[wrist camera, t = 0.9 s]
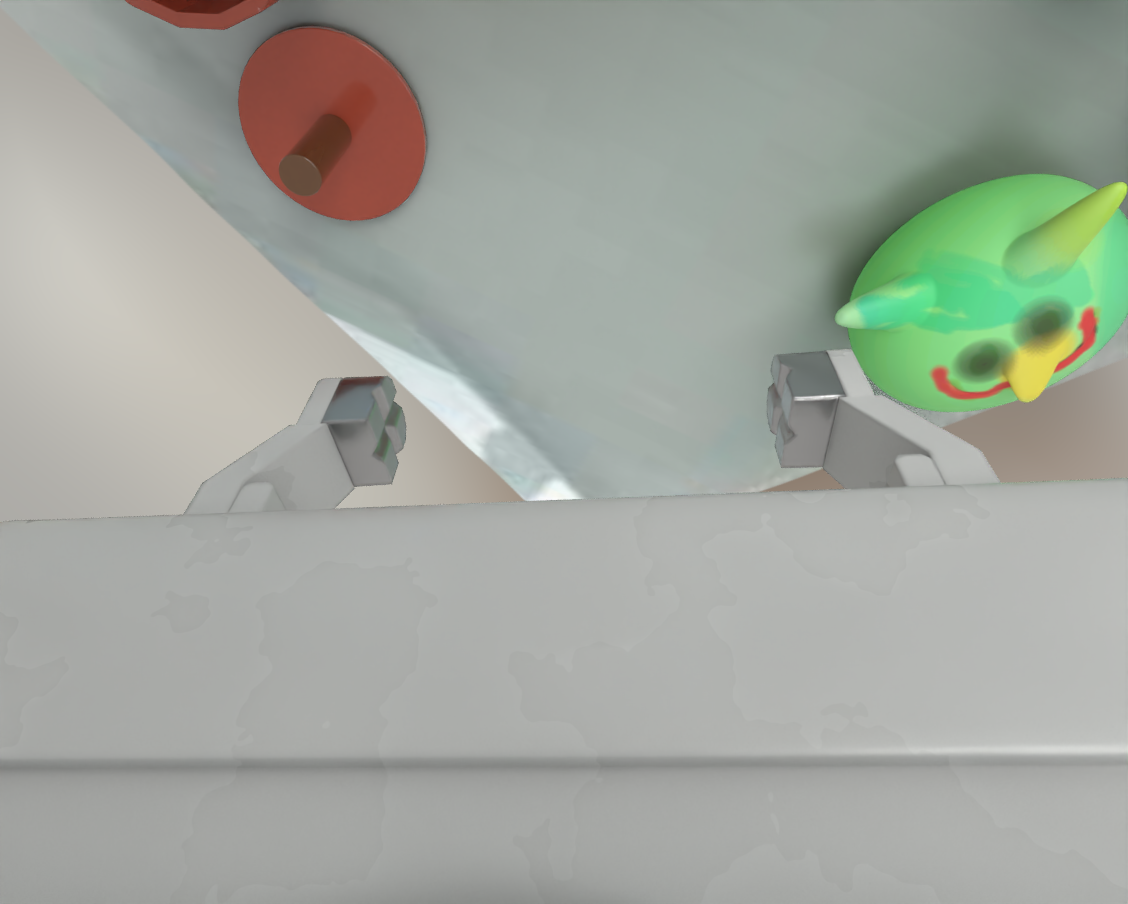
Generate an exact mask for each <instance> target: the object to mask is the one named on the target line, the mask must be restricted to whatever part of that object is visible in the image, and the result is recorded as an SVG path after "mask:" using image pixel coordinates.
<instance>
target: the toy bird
mask: <svg viewBox="0 0 1128 904" xmlns="http://www.w3.org/2000/svg"><path fill="white" fill-rule="evenodd" d="M1127 190H1128V187H1127V184H1126V183H1124V182H1116V183H1112V184H1109V185H1107V186H1105V187H1102V188H1100V189H1098V190H1097V189H1095V188H1093V187H1091V186H1090V185H1087V184H1085V183H1083V182H1080V181H1078V180H1075V179H1071V178H1068V177H1063V176H1058V175H1049V174H1025V175H1015V176H1009V177H1004V178H999V179H995V180H991V181H987V182H984V183H981V184H978V185H975V186H972V187H969V188H966V189H964V190H961V191H959V192H957V193H955V194H952V195H950V196H948V197H946V198H944V199H942V200H940V201H938V202H937V203H935V204H933V205H931V206H930V207H928V208H926V209H925V210H923V211H922V212H920V213H919V214H917V215H916V216H914V217H913V218H912V219H910V220H909V221H908V222H906V223H905V224H904V225H903V226H901V227H900V228H899V229H898V230H897V231H896V232H894V233H893V234H892V235H891V236H890V237H889V238H888V239H887V240H886V241H885V242H884V243H883V244H882V245H881V246H880V247H879V249H878V250H877V251H876V252H875V253H874V254H873V256H872V257H871V258H870V260H869V261H868V262H867V264H866V265H865V267H864V268H863V270H862V272H861V274H860V275H859V277H858V279H857V281H856V283H855V286H854V288H853V291H852V294H851V298H850V302H849V303H847V304H846V305H844V306H843V307H842V308H840V309H839V310H838V311H837V313H836V315H835V322H836V323H837V324H838V325H840V326H843V327H848V335H849V340H850V344H851V347H852V350H853V352H854V354H855V356H856V358H857V360H858V362H859V364H860V366H861V368H862V369H863V371H864V372H865V374H866V375H867V376H868V377H869V378H870V380H871V381H872V382H873V383H874V384H875V385H877V386H878V387H879V388H880V389H881V390H883V391H884V392H885V393H887V394H888V395H890V396H891V397H893V398H895V399H897V400H899V401H901V402H903V403H906V404H908V405H911V406H914V407H917V408H921V409H926V410H931V411H940V412H965V411H974V410H981V409H986V408H991V407H996V406H1000V405H1003V404H1006V403H1010V402H1013V401H1016V400H1020V401H1022V402H1031V401H1033V400H1035V399H1036V398H1037V397H1038V396H1039V395H1040V394H1041V393H1042V391H1043V390H1044V389H1045V388H1047V387H1049V386H1051V385H1053V384H1054V383H1056V382H1058V381H1060V380H1061V379H1063V378H1065V377H1066V376H1068V375H1069V374H1071V373H1072V372H1074V371H1075V370H1076V369H1078V368H1079V367H1081V366H1082V365H1083V364H1084V363H1086V362H1087V361H1088V360H1089V359H1091V358H1092V357H1093V356H1094V355H1095V354H1096V353H1097V352H1098V351H1099V350H1100V349H1101V348H1103V347H1104V345H1105V344H1106V343H1107V342H1108V341H1109V340H1110V339H1111V338H1112V337H1113V335H1114V334H1115V333H1116V332H1117V330H1118V329H1119V328H1120V326H1121V325H1122V323H1123V321H1124V320H1125V318H1126V316H1127V315H1128V220H1127V218H1126V216H1125V215H1124V214H1123V212H1122V211H1121V210H1120V209H1119V208H1118V207H1119V206H1120V204H1121V203H1122V201H1123V200H1124V198H1125V196H1126V193H1127Z"/></svg>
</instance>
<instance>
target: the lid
mask: <svg viewBox="0 0 1128 904" xmlns="http://www.w3.org/2000/svg"><path fill="white" fill-rule="evenodd" d="M238 106H239V116H240V121H241V125H242V130H243V133H244V136H245V138H246V141H247V143H248V146H249V148H250V150H251V152H252V154H253V156H254V157H255V159H256V161H257V162H258V164H259V165H260V167H261V168H262V170H263V171H264V172H265V174H266V175H267V176H268V177H269V178H270V179H271V181H272V182H273V183H274V184H275V185H276V186H277V187H278V188H279V189H281V190H282V191H283V192H284V193H285V194H286V195H288V196H289V197H290V198H292V199H293V200H294V201H296V202H297V203H299V204H301V205H302V206H304V207H306V208H308V209H310V210H312V211H314V212H316V213H319V214H321V215H324V216H327V217H331V218H335V219H341V220H350V221H353V220H367V219H373V218H376V217H379V216H382V215H384V214H387V213H389V212H391V211H392V210H394V209H395V208H397V207H398V206H400V205H401V204H402V203H403V202H404V201H405V200H406V199H407V198H408V197H409V195H410V194H411V193H412V192H413V190H414V188H415V186H416V185H417V183H418V181H419V179H420V176H421V173H422V171H423V167H424V163H425V158H426V132H425V126H424V121H423V118H422V114H421V111H420V108H419V106H418V103H417V101H416V98H415V96H414V95H413V93H412V91H411V89H410V87H409V85H408V84H407V83H406V81H405V80H404V78H403V77H402V75H401V74H400V73H399V72H398V70H397V69H396V68H395V67H394V66H393V65H392V64H391V62H390V61H388V60H387V59H386V58H385V57H384V56H383V55H382V54H381V53H380V52H378V51H377V50H376V49H374V48H373V47H372V46H370V45H369V44H367V43H366V42H364V41H362V40H360V39H359V38H357V37H355V36H353V35H350V34H348V33H345V32H343V31H340V30H336V29H332V28H328V27H320V26H301V27H296V28H291V29H288V30H285V31H283V32H280V33H278V34H276V35H275V36H273V37H271V38H270V39H268V40H267V41H266V42H264V43H263V44H262V45H261V46H260V47H259V48H258V49H257V50H256V51H255V52H254V54H253V55H252V56H251V57H250V59H249V61H248V63H247V65H246V66H245V69H244V72H243V74H242V77H241V81H240V87H239V97H238Z"/></svg>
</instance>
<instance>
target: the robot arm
mask: <svg viewBox="0 0 1128 904" xmlns="http://www.w3.org/2000/svg"><path fill="white" fill-rule="evenodd" d="M771 374H772V377H773V381H774V383H773V384H772V385H771V386H770V387H769V388H768V395H767V418H768V424H769V428H770V431H771V432H772V433H773V434H775V435H776V441H775V449H776V452H777V455H778V459H779V462H780V465H781V468H801V467H823V469H824V470H825V471H826V472H827V473H828V474H830V475H831V476H832V477H833V478H834V479H835V480H836V481H837V482H838V483H840V484H841V485H842V486H843V487H844V488H845V489H829V490H803V491H777V492H752V493H726V494H701V495H675V496H650V497H624V498H598V499H572V500H547V501H521V502H496V503H470V504H446V505H445V504H443V505H419V506H392V507H367V508H341V509H335V508H336V506H338V505H339V504H340V503H341V502H342V501H343V500H344V499H345V498H346V497H347V496H348V495H349V494H350V492H352V491H353V490H354V487H357V486H371V485H386V484H392V482H393V479H394V475H395V472H396V469H397V466H398V460H397V457H396V454H397V453H398V452H399V451H401V450H402V449H403V447H404V443H405V440H406V422H405V416H404V413H403V410H402V407H400V406H399V405H398V404H397V403H395V402H394V401H393V400H394V397H395V394H396V389H395V386H394V384H393V381H392V379H391V378H389V377H388V376H374V377H346V378H327V379H321V380H319V381H318V382H317V384H316V386H315V388H314V390H313V392H312V394H311V396H310V398H309V400H308V402H307V404H306V406H305V408H304V410H303V412H302V414H301V416H300V418H299V420H298V422H297V423H296V425H289V426H287V427H286V428H284V429H283V430H282V431H280V432H278V433H277V434H275V435H274V436H272V437H271V438H269V439H268V440H266V441H265V442H263V443H262V444H260V445H259V446H257V447H256V448H255V449H253V450H251V451H250V452H248V453H247V454H245V455H244V456H242V457H241V458H239V459H238V460H236V461H235V462H233V463H232V464H230V465H229V466H227V467H226V468H224V469H223V470H221V471H220V472H218V473H217V474H215V475H214V476H212V477H211V478H209V479H208V480H206V481H205V482H203V483H202V484H201V486H200V488H199V490H198V491H197V493H196V494H195V496H194V498H193V499H192V501H191V503H190V504H189V506H188V508H187V509H186V511H185V512H184V514H183V515H160V516H137V517H135V516H134V517H109V518H83V519H60V520H58V519H57V520H14V521H5V522H0V904H1128V478H1114V479H1090V480H1066V481H1042V482H1016V483H1015V482H1014V483H1001V482H1000V481H999V479H998V477H997V476H996V474H995V473H994V471H993V469H992V468H991V466H990V465H989V463H988V461H987V460H986V458H985V456H984V455H983V453H982V451H981V450H980V449H978V448H976V447H974V446H972V445H971V444H969V443H967V442H965V441H963V440H962V439H960V438H958V437H956V436H954V435H953V434H951V433H949V432H947V431H945V430H944V429H942V428H940V427H938V426H937V425H935V424H933V423H931V422H929V421H928V420H926V419H924V418H922V417H921V416H919V415H917V414H915V413H913V412H912V411H910V410H908V409H906V408H904V407H903V406H901V405H899V404H897V403H895V402H894V401H892V400H890V399H888V398H887V397H885V396H883V395H875V394H874V392H873V390H872V388H871V386H870V384H869V382H868V380H867V378H866V376H865V374H864V372H863V370H862V368H861V366H860V364H859V362H858V360H857V358H856V356H855V354H854V352H853V351H852V350H851V349H837V350H826V351H820V352H806V353H791V354H777V355H774V357H773V360H772V365H771Z"/></svg>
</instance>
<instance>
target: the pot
mask: <svg viewBox="0 0 1128 904" xmlns="http://www.w3.org/2000/svg"><path fill="white" fill-rule="evenodd" d="M125 1H126V2H127V3H129V4H131V5H132V6H134V7H136V8H138V9H140V10H143V11H145V12H147V13H149V14H151V15H153V16H156V17H158V18H160V19H162V20H164V21H166V22H169V23H171V24H173V25H175V26H177V27H180V28H197V29H217V30H224V29H228V28H230V27H232V26H234V25H236V24H238V23H240V22H242V21H244V20H246V19H248V18H250V17H252V16H254V15H256V14H258V13H260V12H262V11H263V10H265V9H267V8H268V7H270V6H271V5H273V4H275V3H276V2H278V1H279V0H125Z"/></svg>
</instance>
